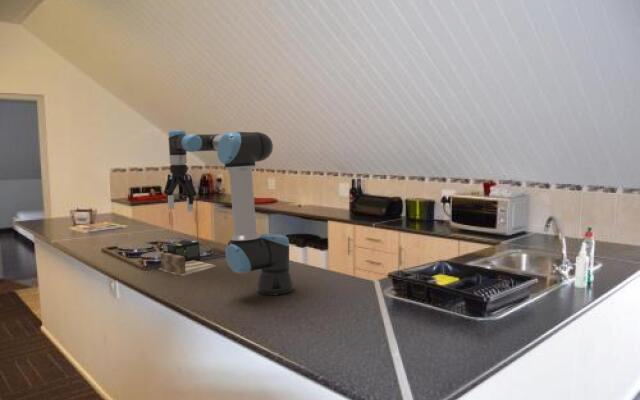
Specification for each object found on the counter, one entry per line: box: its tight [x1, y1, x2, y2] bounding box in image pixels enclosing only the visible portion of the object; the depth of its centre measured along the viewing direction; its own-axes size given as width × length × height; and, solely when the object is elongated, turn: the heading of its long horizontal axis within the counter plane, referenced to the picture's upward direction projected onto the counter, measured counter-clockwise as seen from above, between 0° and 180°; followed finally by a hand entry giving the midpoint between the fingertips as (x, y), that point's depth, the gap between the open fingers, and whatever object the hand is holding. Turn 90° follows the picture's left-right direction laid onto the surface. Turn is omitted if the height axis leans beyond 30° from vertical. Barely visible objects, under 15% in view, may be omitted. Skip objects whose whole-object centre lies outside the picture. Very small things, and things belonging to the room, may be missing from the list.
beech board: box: [158, 253, 217, 277], centre depth 235 cm, size 18×20×8 cm
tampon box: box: [162, 239, 201, 262], centre depth 249 cm, size 11×9×15 cm
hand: (180, 210), depth 227 cm, fingers open, 13 cm apart
